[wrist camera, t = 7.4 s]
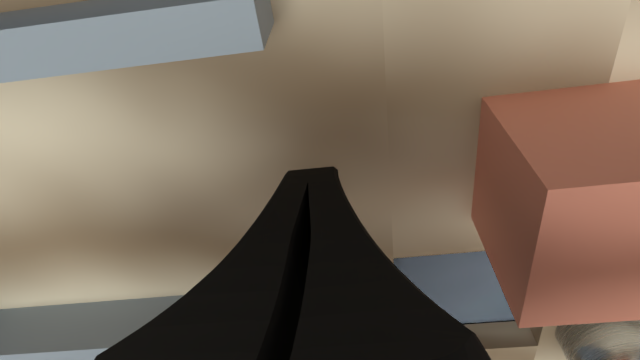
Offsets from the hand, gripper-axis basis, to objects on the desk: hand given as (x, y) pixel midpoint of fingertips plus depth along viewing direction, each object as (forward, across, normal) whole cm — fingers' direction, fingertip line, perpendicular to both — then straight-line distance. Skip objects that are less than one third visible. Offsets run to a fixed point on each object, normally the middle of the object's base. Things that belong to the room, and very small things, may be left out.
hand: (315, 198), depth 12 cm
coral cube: (+1, -7, 0) cm, 7 cm away
